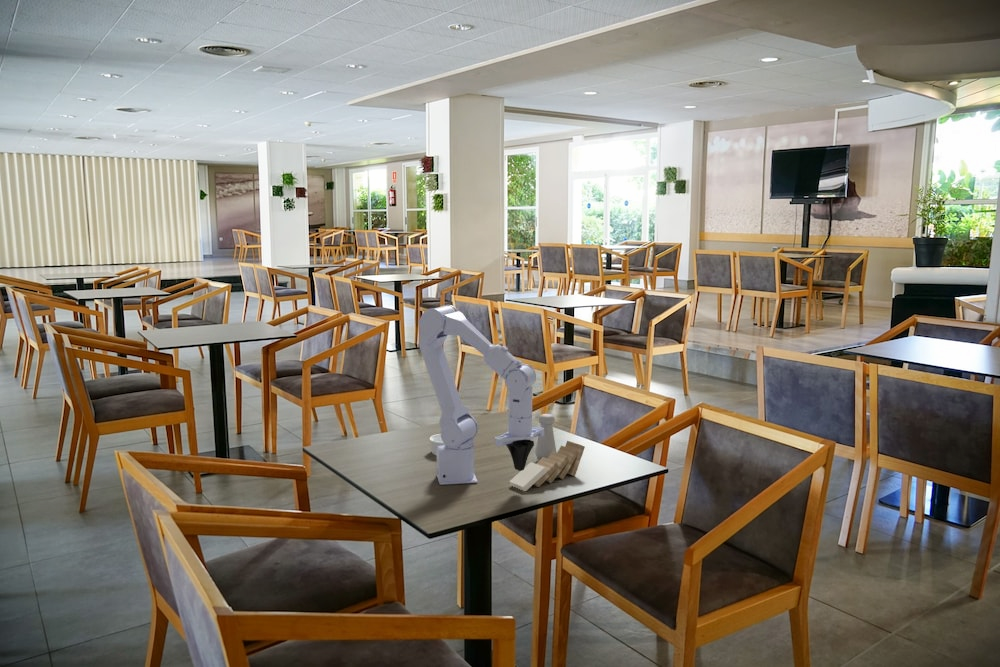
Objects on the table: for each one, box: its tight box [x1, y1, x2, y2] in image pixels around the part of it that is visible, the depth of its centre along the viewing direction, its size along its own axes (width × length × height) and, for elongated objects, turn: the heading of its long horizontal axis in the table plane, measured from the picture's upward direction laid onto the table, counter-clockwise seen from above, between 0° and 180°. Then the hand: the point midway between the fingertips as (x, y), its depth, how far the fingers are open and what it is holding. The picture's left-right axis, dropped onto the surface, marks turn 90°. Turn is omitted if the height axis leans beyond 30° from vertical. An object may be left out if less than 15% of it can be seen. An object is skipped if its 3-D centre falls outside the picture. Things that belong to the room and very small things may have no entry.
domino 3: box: [556, 445, 578, 481], centre depth 198 cm, size 2×5×8 cm
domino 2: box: [544, 451, 569, 484], centre depth 196 cm, size 2×5×8 cm
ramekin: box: [429, 433, 445, 457], centre depth 216 cm, size 9×9×4 cm
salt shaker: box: [534, 413, 557, 462], centre depth 209 cm, size 6×6×13 cm
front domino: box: [509, 461, 546, 492], centre depth 190 cm, size 2×5×8 cm
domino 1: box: [533, 457, 559, 488], centre depth 193 cm, size 2×5×8 cm
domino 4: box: [564, 440, 586, 477], centre depth 200 cm, size 2×5×8 cm, turn 41°
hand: (519, 469), depth 188 cm, fingers closed
